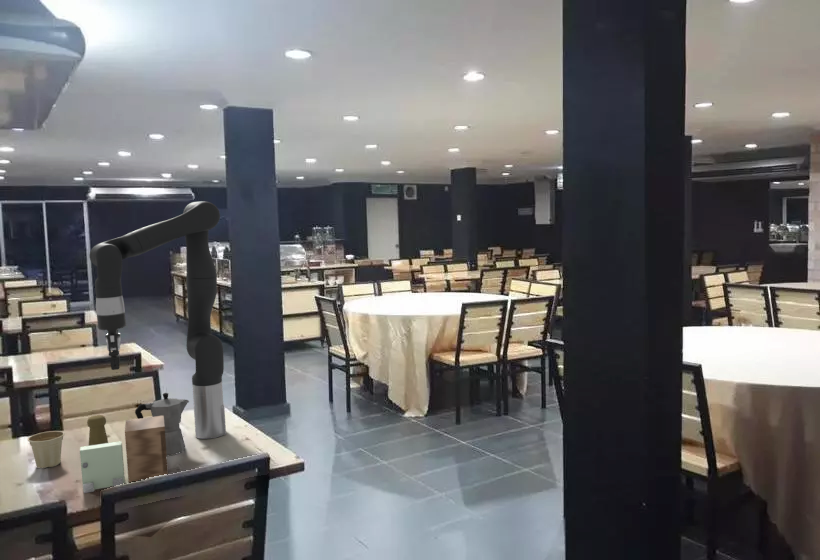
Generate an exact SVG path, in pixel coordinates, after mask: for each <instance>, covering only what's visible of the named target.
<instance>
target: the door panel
mask: <svg viewBox="0 0 820 560" xmlns="http://www.w3.org/2000/svg"><path fill="white" fill-rule="evenodd" d="M123 451H124V450H123V441H122V440H119V441H114V442H113V441H112V442H108V443H105V444H98V445H91V446H89V445H85V446H80V447H79V458H80V468H81V469H80V471H81V481H82V484H83V483H87V482H94V490H99V489H100V490H101V489H105V488H111V487H110V486H112V487H113V478H118V477H123V483H126V479H125V478H126V477H125V466H124V453H123ZM82 491H83V492H84V489H83V488H82Z"/></svg>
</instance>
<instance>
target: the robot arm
mask: <svg viewBox="0 0 820 560" xmlns="http://www.w3.org/2000/svg"><path fill="white" fill-rule="evenodd" d="M220 219H221V213H220V210H219V208H218V207H217V206H216V205H215V204H213V203H212V202H209V201H205V200H203V201H202V200H201V201H192V202H190V203H188V204H187V205H186V206H185V207H184V209H183V213H182V214H180V215H177V216H175V217H173V218H169V219H167V220H163V221H159V222H156V223H153V224H149V225H147V226H144V227H140V228H138V229H136V230H134V231H130V232H128V233H127V234H124V235H122V236H119V237H116V238H112V239H108V240H106V241H103V242H100V243H97V244H95V245H94V246H93V247H92V248H91V249H90V252H89V254H88V255H89V260H90V262H91V263H92V264H93V265H94V266H95V267H97V268H96V269H97V271H96V272H97V274H96V275H97V278H96V279H95V282H94V287H95V288H94V289H95V298H96V299H95V301H96V302H95V310H96V318H97V319H96V321H97V328H98V330H100V331H106V332H107V334H105V336H104V338H105V342H106V349H107V351H108V353H107V354H108V357H109V359H110V370H112V371H115V370H120V368H121V366H120V363H121V358H120V350H121V339H122V337H121V332H119V329H122V328H125V327H126V326H127V321H126V311H125V302H124V301H125V300H124V297H123V288H122V271H123V260H125V259H128V258H132V257H137V256H140V255H142V254H145V253H147V252H149V251H151V250H154V249H156V248H159V247H161V246H163V245H165V244H167V243H170V242H172V241H175V240H177V239H180V238H182V237H184V238H185V244H186V245H185V246H186V247H185V249H186V251H185V252H186V254H185V255H186V256H185V257H186V260H185V261H186V263H185V264H186V295H187V296H186V297H187V318H188V320H187V332H186V351H187V354H188V356H189V357H190V358H191V359H192V360H195V373H193V375H192V376H191V386H192V387H191V388H192V399H193V400H192V401H193V413H194V416H193V417H194V430H195V431H194V432H195V437H196V439H197V438H198V439H201V440H202V439H203V440H206V439H207V440H208V439H215V438H218V437H219V438H220V437H222V436H226V435H227V429H226V412H225V411H226V410H225V409H226V408H225V405H224V394H223V393H224V390H223V374H224V371H225V367H224V365H225V364H224V362H225V361H224V360H225V358H224V345H223V343H222V340H221V338H219V337H218V336H216V335H215V334H212V327H211V326H212V325H211V318H212V317H211V315H212V312H213V311H212V310H213V307H214V304H215V301H216V297H217V292H218V289H217V288H218V282H217V281H218V279H217V277H218V276H217V270H216V265H215V262H214V258H213V256H212V253H211V251H210V247H209V246H210V245H209V230H212V229H214V228H215V227H216V226H217V225H218V224H219V222H220Z"/></svg>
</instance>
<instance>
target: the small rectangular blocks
mask: <svg viewBox="0 0 820 560" xmlns="http://www.w3.org/2000/svg"><path fill="white" fill-rule="evenodd" d="M120 484H123V477H118V478H113V486H116V485H120ZM113 486H112V487H113ZM83 489H84V491H83V494H87V493H92V492H93V493H94V492H95V489H94V482H87V483H82V490H83Z"/></svg>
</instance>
